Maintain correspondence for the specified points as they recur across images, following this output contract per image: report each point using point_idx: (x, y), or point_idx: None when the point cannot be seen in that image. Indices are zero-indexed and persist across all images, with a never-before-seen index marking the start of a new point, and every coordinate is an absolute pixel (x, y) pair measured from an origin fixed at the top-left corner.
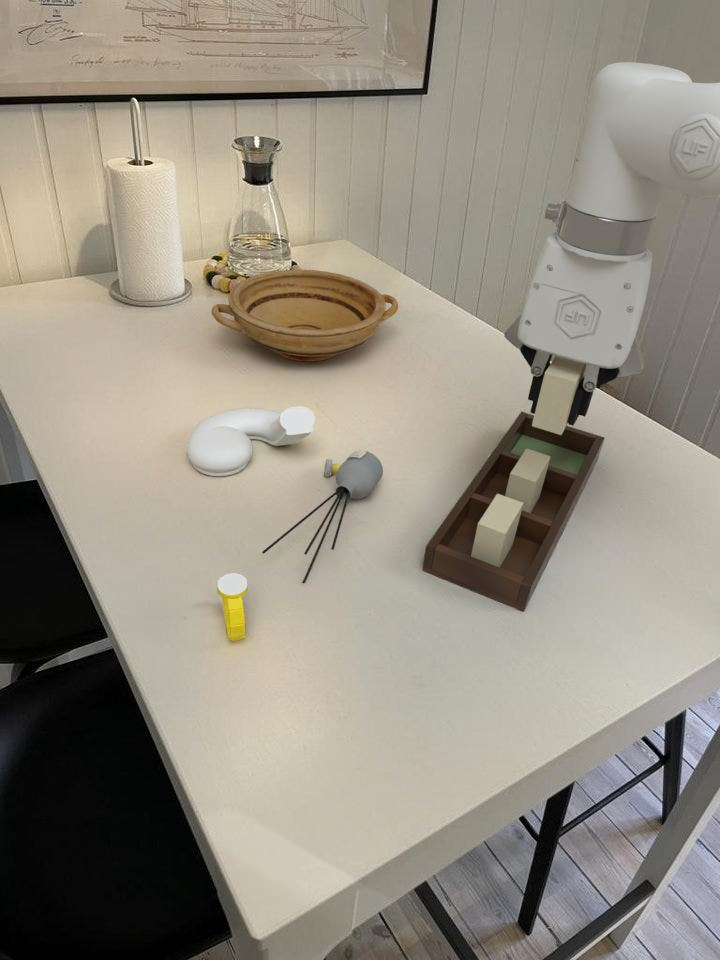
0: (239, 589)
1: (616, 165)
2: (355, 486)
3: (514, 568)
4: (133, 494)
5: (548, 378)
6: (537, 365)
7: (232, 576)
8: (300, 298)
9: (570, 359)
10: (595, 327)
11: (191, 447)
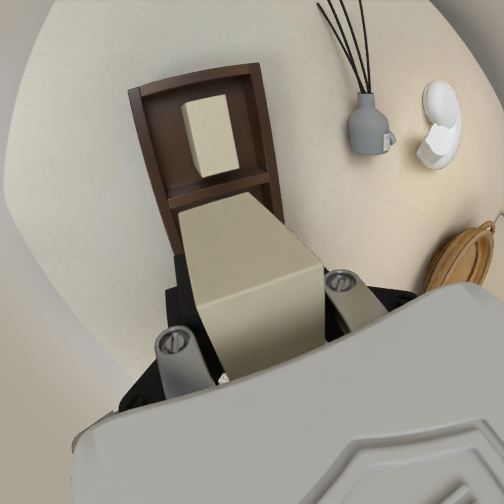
0: None
1: None
2: (363, 107)
3: (171, 134)
4: (440, 45)
5: (296, 257)
6: (352, 291)
7: None
8: None
9: (277, 364)
10: None
11: (453, 89)
